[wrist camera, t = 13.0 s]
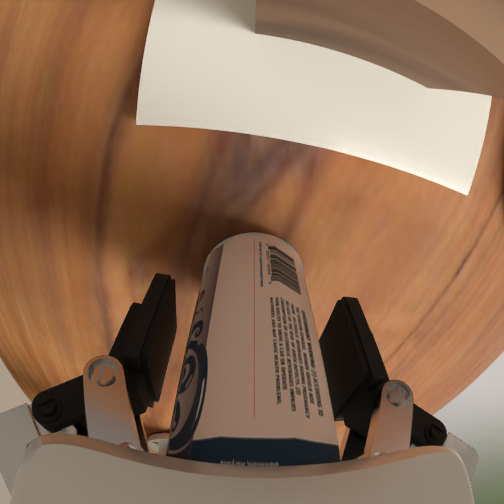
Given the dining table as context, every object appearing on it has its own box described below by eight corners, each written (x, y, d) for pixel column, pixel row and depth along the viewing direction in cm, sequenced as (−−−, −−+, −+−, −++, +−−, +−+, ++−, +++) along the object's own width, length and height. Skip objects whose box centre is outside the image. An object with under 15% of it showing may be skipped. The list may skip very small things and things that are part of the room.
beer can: (189, 241, 13) (107, 535, 2) (291, 215, 12) (359, 557, 2) (224, 314, 15) (203, 542, 5) (309, 296, 14) (350, 537, 4)
